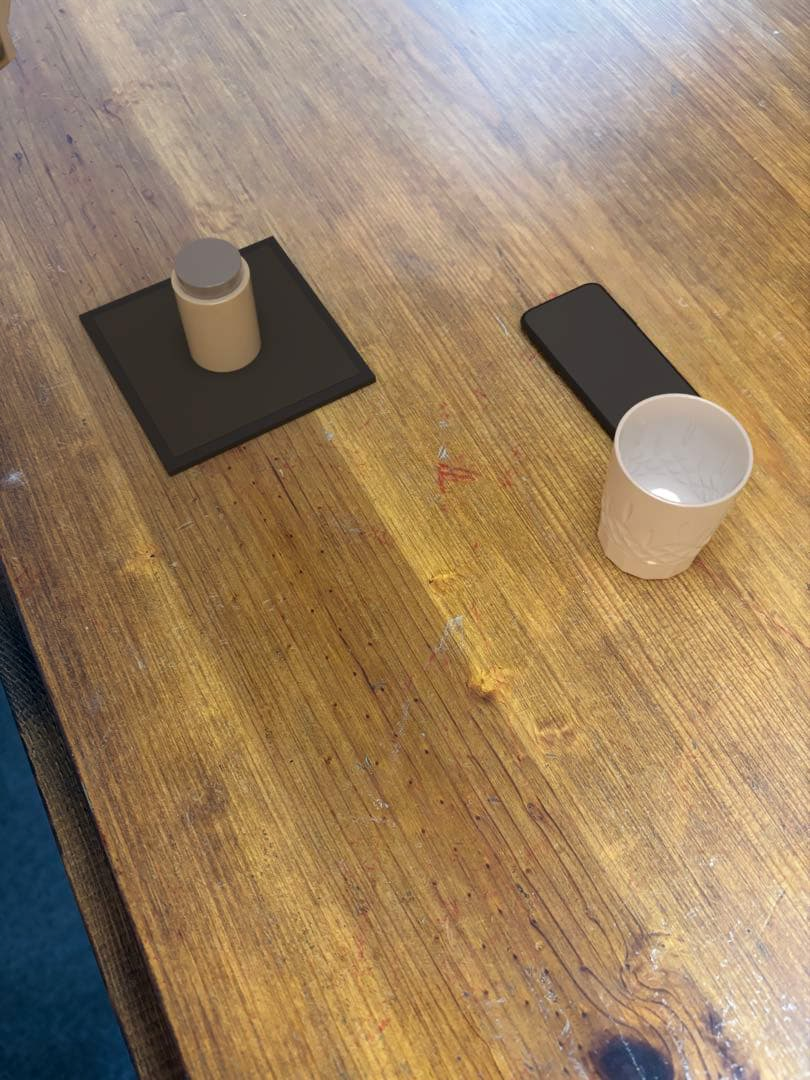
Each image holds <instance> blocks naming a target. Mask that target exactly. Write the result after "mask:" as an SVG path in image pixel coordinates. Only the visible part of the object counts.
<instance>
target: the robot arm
mask: <svg viewBox="0 0 810 1080" xmlns="http://www.w3.org/2000/svg"><path fill="white" fill-rule="evenodd" d="M11 1H12V0H0V71H2V70H3V69H5V67H7V66H8V65H9V64H10V63H12V62H13V61H14V60H15V59H17V52H16V49H15V46H14V43H13V40H12V37H11V34H10V31H9V29H8V24H9V21H10V12H11Z"/></svg>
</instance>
